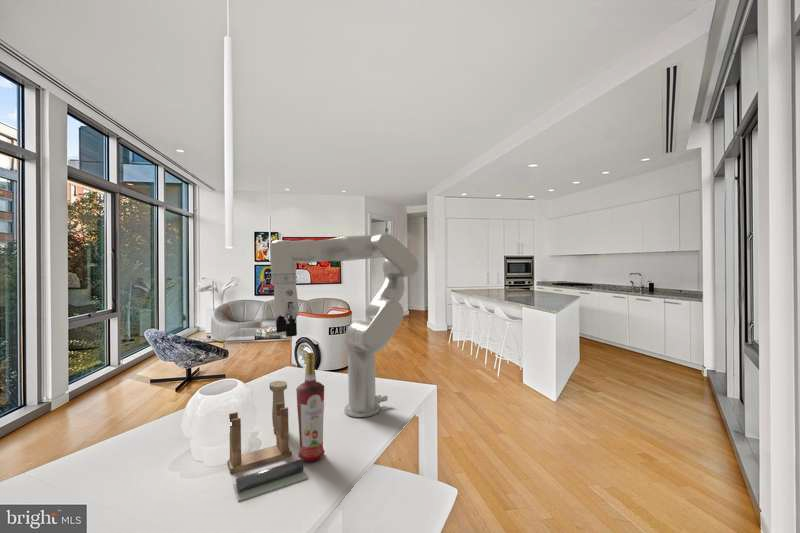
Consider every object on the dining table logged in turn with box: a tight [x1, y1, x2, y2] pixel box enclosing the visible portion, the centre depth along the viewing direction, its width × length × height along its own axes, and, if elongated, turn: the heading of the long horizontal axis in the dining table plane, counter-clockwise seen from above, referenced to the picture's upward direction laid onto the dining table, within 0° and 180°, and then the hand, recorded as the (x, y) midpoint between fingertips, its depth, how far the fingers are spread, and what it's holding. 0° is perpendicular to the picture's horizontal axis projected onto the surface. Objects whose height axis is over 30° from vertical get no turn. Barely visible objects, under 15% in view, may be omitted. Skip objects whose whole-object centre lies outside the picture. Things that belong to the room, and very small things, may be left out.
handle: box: [268, 380, 288, 434], centre depth 114 cm, size 5×6×15 cm
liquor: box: [296, 352, 325, 463], centre depth 97 cm, size 7×7×28 cm
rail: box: [235, 458, 305, 492], centre depth 87 cm, size 15×3×3 cm, turn 122°
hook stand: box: [226, 402, 293, 475], centre depth 97 cm, size 15×6×13 cm, turn 122°
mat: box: [233, 470, 308, 503], centre depth 87 cm, size 16×7×1 cm, turn 122°
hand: (286, 333), depth 115 cm, fingers open, 9 cm apart
